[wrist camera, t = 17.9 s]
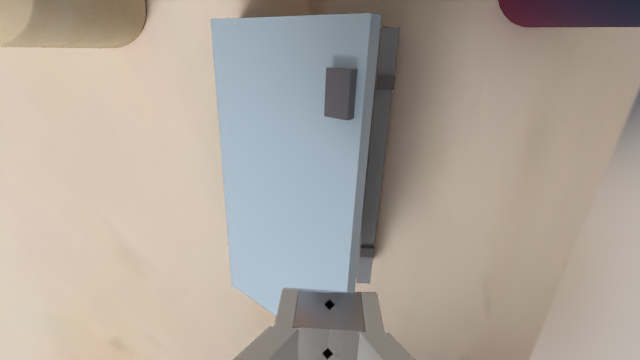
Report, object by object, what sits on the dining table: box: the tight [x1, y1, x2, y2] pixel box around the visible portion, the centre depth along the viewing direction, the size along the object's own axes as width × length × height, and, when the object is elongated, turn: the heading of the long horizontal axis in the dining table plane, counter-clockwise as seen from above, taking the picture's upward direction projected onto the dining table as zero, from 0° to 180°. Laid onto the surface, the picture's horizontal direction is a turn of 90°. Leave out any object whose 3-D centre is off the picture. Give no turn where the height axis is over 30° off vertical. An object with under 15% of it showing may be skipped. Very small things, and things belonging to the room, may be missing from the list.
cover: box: [211, 13, 381, 316], centre depth 18 cm, size 18×10×2 cm
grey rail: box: [356, 27, 400, 284], centre depth 23 cm, size 18×10×3 cm, turn 178°
